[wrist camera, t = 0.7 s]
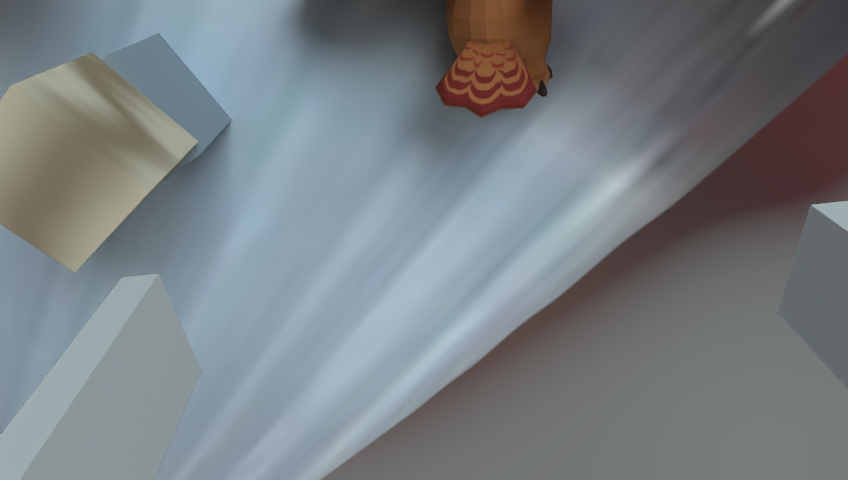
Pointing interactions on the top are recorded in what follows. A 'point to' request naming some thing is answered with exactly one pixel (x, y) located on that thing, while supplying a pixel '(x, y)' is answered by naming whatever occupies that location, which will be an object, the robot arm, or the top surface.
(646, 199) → the top surface
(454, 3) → the figurine
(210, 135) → the cube bottom
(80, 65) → the beige cube
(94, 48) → the top surface
